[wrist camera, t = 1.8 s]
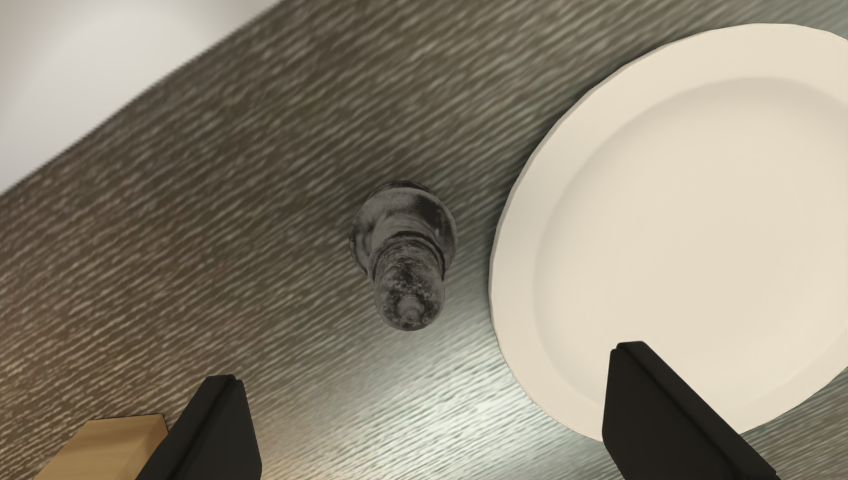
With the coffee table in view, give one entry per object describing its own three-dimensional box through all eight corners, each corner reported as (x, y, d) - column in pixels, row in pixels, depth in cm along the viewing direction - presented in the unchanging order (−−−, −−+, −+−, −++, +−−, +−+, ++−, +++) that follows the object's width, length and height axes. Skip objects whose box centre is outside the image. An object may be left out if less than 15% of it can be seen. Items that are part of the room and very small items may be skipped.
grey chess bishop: (352, 264, 26) (324, 388, 15) (356, 171, 25) (327, 234, 13) (444, 269, 27) (483, 392, 16) (454, 179, 25) (507, 246, 14)
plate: (978, 97, 26) (1033, 98, 24) (764, 446, 34) (790, 470, 32) (566, -35, 22) (586, -49, 20) (436, 398, 30) (440, 422, 28)
